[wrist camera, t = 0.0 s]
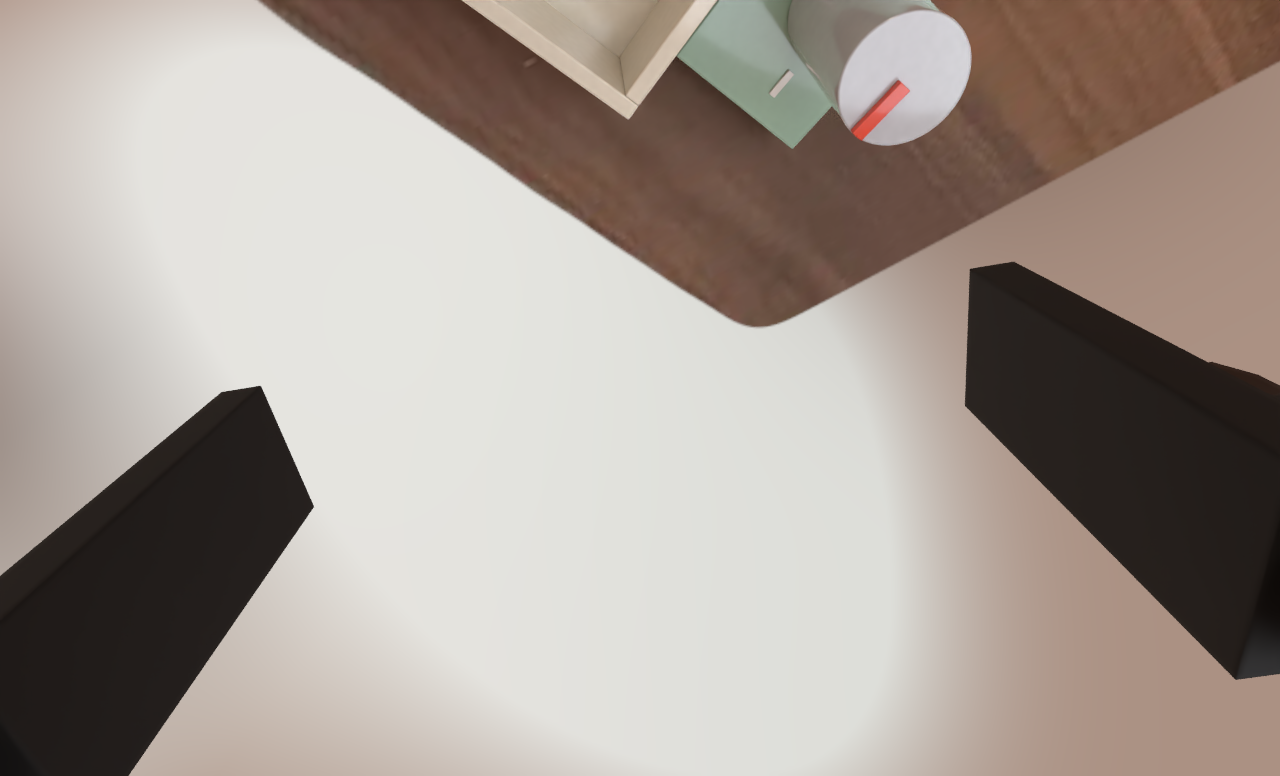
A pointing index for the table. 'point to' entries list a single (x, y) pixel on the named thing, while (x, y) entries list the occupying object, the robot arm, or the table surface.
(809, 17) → the tap knob
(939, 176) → the table surface
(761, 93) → the green dial base plate
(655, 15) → the cream open storage tray
